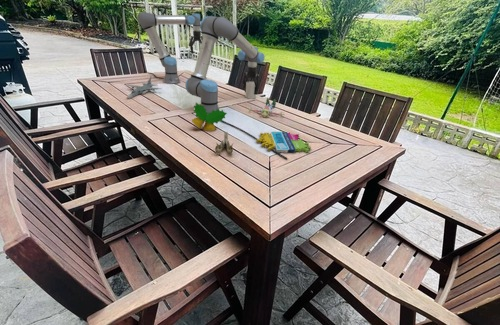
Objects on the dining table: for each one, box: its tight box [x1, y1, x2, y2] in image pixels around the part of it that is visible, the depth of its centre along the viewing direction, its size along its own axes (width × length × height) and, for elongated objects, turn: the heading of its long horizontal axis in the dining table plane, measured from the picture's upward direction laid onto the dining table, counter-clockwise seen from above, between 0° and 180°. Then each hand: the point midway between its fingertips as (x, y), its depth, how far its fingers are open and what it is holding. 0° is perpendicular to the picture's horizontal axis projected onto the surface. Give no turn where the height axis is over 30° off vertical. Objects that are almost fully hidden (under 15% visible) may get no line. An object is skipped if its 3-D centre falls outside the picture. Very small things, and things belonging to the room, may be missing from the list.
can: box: [245, 81, 256, 100], centre depth 231 cm, size 9×9×13 cm
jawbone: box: [214, 131, 234, 156], centre depth 136 cm, size 9×15×10 cm
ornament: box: [191, 102, 228, 132], centre depth 162 cm, size 21×8×15 cm, turn 105°
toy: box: [247, 97, 285, 118], centre depth 199 cm, size 28×7×30 cm
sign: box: [256, 131, 312, 154], centre depth 152 cm, size 26×2×30 cm
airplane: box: [126, 75, 162, 99], centre depth 223 cm, size 38×31×10 cm
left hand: (197, 53), depth 277 cm, fingers open, 13 cm apart
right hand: (250, 93), depth 233 cm, fingers closed on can, 9 cm apart
